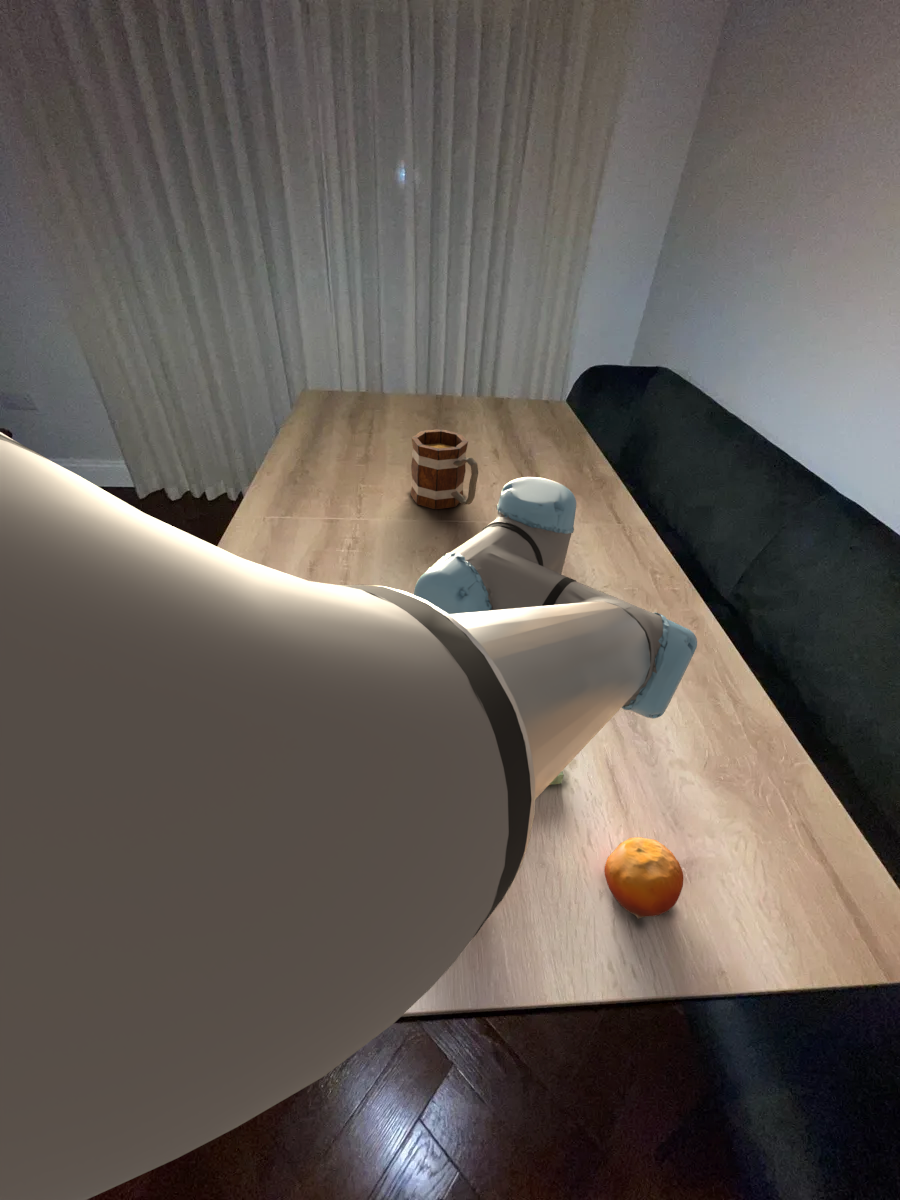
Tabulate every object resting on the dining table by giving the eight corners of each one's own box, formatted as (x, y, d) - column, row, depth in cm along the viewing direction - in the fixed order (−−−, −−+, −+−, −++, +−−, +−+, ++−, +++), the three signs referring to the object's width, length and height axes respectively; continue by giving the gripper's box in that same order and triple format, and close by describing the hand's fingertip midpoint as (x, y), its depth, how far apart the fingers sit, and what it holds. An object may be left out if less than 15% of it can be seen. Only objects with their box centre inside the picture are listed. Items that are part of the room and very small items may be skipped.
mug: (399, 493, 135) (399, 436, 125) (438, 480, 142) (441, 425, 133) (451, 525, 124) (456, 465, 114) (491, 508, 131) (498, 451, 122)
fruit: (645, 952, 55) (638, 884, 53) (597, 904, 62) (589, 843, 61) (703, 919, 58) (697, 854, 56) (650, 877, 65) (644, 818, 64)
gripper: (547, 688, 51) (515, 812, 65) (553, 565, 68) (527, 685, 82) (471, 674, 52) (455, 800, 66) (495, 556, 69) (479, 677, 83)
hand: (495, 736), depth 74 cm, fingers open, 9 cm apart
